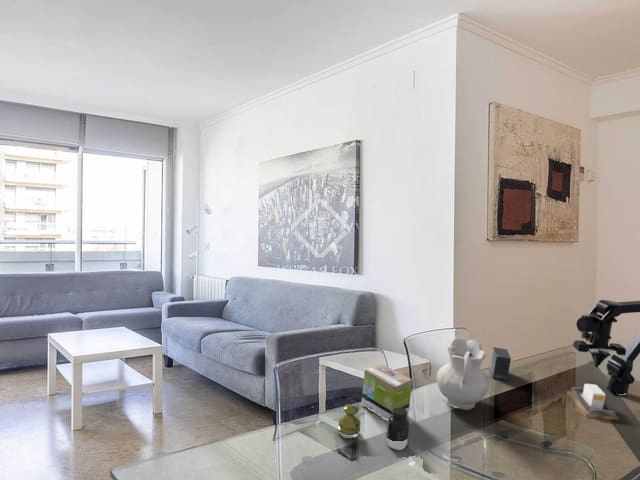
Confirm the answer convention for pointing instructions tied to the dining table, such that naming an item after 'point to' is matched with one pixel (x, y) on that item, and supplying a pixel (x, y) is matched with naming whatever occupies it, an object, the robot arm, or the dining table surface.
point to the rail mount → (587, 410)
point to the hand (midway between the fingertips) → (595, 366)
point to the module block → (593, 396)
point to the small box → (500, 363)
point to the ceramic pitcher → (463, 374)
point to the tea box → (386, 390)
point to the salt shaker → (349, 421)
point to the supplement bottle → (398, 425)
